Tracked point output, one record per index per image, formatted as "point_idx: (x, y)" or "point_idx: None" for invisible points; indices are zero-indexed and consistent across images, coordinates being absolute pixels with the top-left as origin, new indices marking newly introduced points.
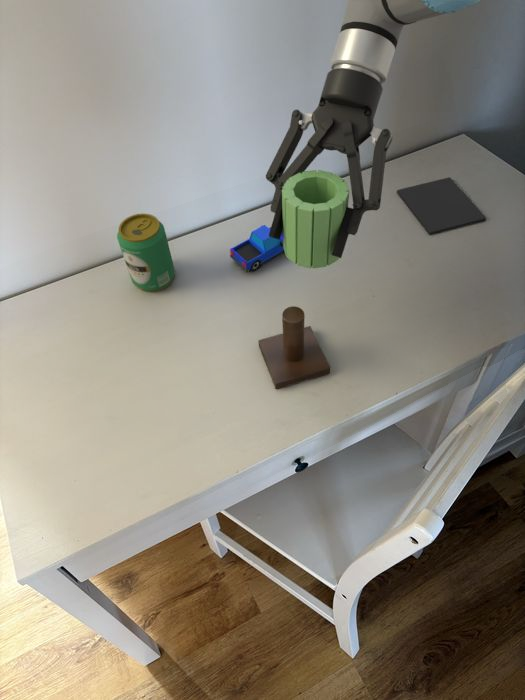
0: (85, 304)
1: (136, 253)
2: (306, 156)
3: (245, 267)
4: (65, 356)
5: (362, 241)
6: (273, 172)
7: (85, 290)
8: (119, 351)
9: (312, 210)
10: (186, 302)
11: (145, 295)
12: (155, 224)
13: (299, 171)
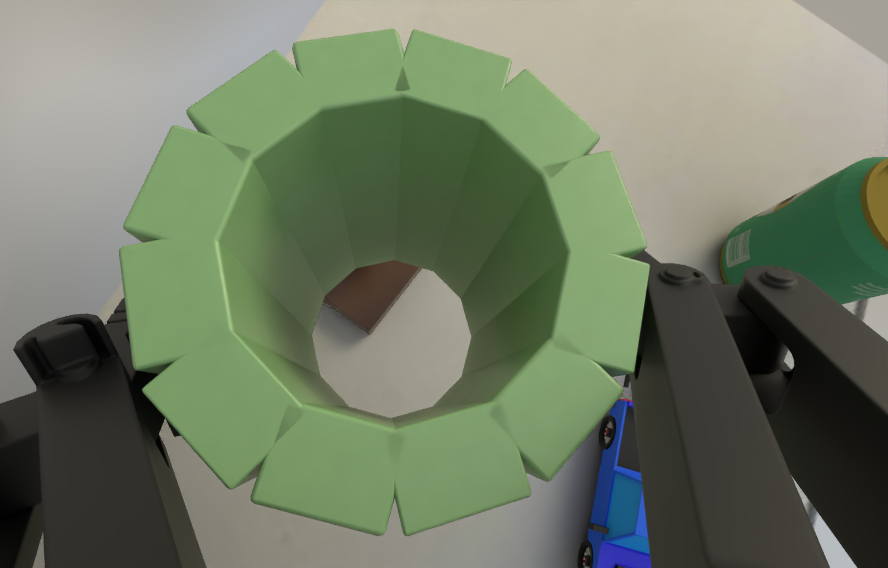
0: (798, 142)
1: (839, 171)
2: (704, 477)
3: (620, 399)
4: (717, 42)
5: None
6: (784, 300)
7: (831, 168)
8: (655, 93)
9: (294, 49)
10: (652, 252)
11: (733, 221)
12: None
13: (653, 414)
